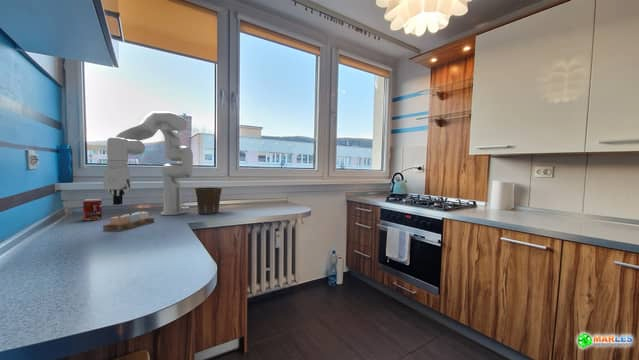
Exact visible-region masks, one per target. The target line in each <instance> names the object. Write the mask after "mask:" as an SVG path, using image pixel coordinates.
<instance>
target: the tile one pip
mask: <svg viewBox="0 0 639 360" xmlns="http://www.w3.org/2000/svg"><path fill="white" fill-rule="evenodd" d="M132 214H139V220H143V219H147V218H148V217H149V211H137V212H132Z"/></svg>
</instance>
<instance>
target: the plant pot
mask: <svg viewBox="0 0 639 360" xmlns="http://www.w3.org/2000/svg"><path fill="white" fill-rule="evenodd" d="M222 190H223V188H221V187H195V188H194V191H195V195H196V203H197V204H196V205H197V213H198V214H199V215H213V214H218V213H219V210H220V201H221V200H220V199H221V195H222Z"/></svg>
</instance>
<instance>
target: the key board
mask: <svg viewBox="0 0 639 360" xmlns="http://www.w3.org/2000/svg"><path fill="white" fill-rule="evenodd" d="M154 222H155V218H154V217H150V216H148V218H147V219H143V220H139V221H135V222H128V223H126V224H122V225H110V223H108V224H103V225H102V228H103V231H104V232H105V231H106V232H122V231H127V230H130V229H134V228H137V227H141V226H145V225H148V224H152V223H154Z"/></svg>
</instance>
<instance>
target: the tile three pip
mask: <svg viewBox="0 0 639 360" xmlns="http://www.w3.org/2000/svg"><path fill="white" fill-rule="evenodd" d="M126 223H128V216H122V215H116V216H113V217H109V224H110V225H122V224H126Z"/></svg>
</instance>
